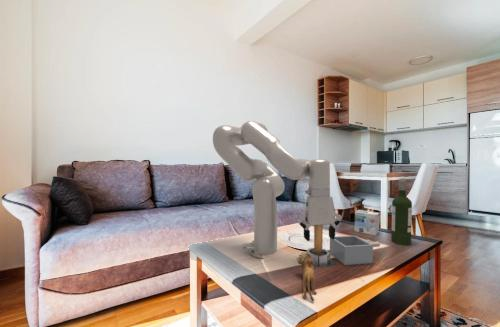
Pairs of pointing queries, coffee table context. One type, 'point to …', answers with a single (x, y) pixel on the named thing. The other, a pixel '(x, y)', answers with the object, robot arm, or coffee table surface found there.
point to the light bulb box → (367, 222)
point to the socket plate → (321, 259)
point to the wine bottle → (401, 216)
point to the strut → (318, 240)
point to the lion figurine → (307, 273)
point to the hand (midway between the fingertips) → (319, 239)
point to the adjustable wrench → (373, 243)
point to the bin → (351, 250)
